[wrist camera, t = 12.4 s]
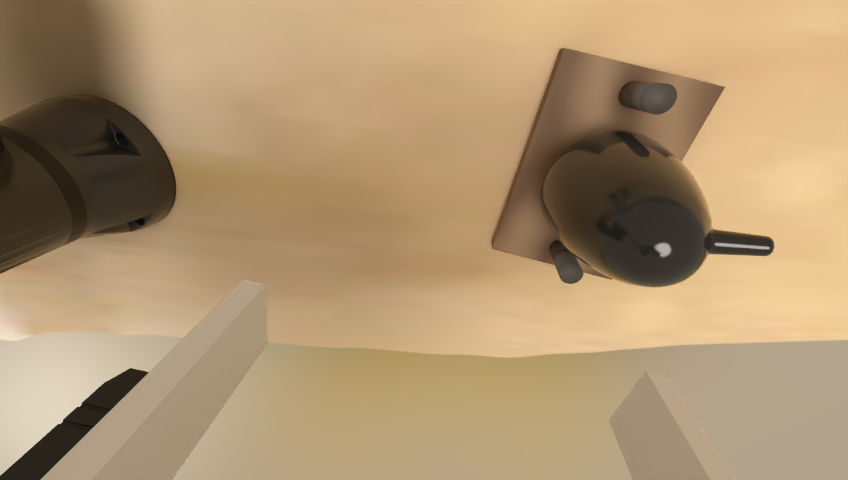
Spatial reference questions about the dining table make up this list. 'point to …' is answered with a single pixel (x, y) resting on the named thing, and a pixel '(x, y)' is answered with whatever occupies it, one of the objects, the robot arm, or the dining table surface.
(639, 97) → the holder
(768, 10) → the dining table surface
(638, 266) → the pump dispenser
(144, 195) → the robot arm
